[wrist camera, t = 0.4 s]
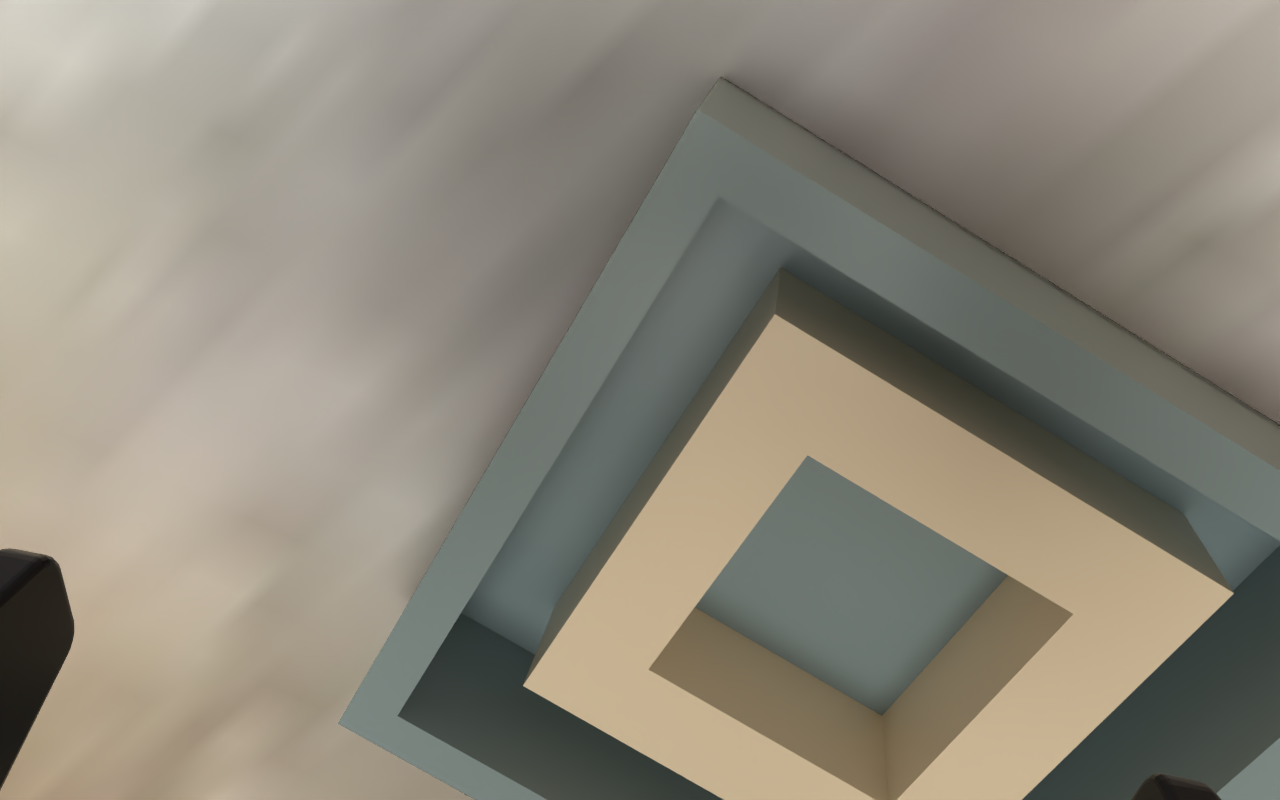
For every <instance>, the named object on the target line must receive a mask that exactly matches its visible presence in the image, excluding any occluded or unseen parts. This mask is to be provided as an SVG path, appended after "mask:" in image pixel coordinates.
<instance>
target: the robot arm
mask: <svg viewBox="0 0 1280 800" xmlns="http://www.w3.org/2000/svg"><path fill="white" fill-rule="evenodd" d="M73 636H74V620H73V616H72V612H71V608H70V604H69V600H68V596H67V592H66V588H65V584H64V581H63V577H62V573H61V569H60V566H59V564H58V563H57V562H56V561H55V560H54V559H53V558H52V557H50V556H47V555H43V554H38V553H33V552H28V551H23V550H18V549H2V550H0V790H1V788H2V786H3V784H4V782H5V780H6V778H7V776H8V774H9V772H10V770H11V768H12V766H13V764H14V762H15V760H16V758H17V755H18V753H19V751H20V749H21V747H22V745H23V743H24V741H25V739H26V737H27V735H28V733H29V731H30V729H31V727H32V725H33V723H34V721H35V719H36V717H37V715H38V713H39V711H40V709H41V707H42V705H43V703H44V701H45V699H46V697H47V695H48V693H49V691H50V689H51V687H52V685H53V683H54V681H55V679H56V677H57V675H58V673H59V671H60V669H61V667H62V665H63V663H64V661H65V659H66V657H67V655H68V653H69V650H70V648H71V644H72V641H73ZM1131 800H1222V799H1221V798H1220V797H1219V796H1218V795H1217V794H1216V793H1215V791H1214V790H1212V789H1211V788H1210V787H1209V786H1208V785H1206V784H1204V783H1203V782H1200V781H1197V780H1193V779H1188V778H1183V777H1178V776H1173V775H1168V774H1163V773H1155V774H1153V775H1151V776H1149V777H1147V778H1146V779H1145V780H1144V781H1143V782H1142V784H1141V785H1140V787H1139V788H1138V790H1137V791H1136V793H1135V794H1134V796H1133V797H1132V799H1131Z"/></svg>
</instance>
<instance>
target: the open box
mask: <svg viewBox="0 0 1280 800" xmlns="http://www.w3.org/2000/svg"><path fill="white" fill-rule="evenodd" d="M338 724H340V725H341V726H343V727H345V728H347V729H349V730H350V731H352V732H354V733H356V734H358V735H359V736H361V737H363V738H365V739H367V740H368V741H370V742H372V743H374V744H376V745H377V746H379V747H381V748H383V749H385V750H386V751H388V752H390V753H392V754H394V755H396V756H397V757H399V758H401V759H403V760H405V761H406V762H408V763H410V764H412V765H414V766H415V767H417V768H419V769H421V770H423V771H424V772H426V773H428V774H430V775H432V776H433V777H435V778H437V779H439V780H441V781H442V782H444V783H446V784H448V785H450V786H451V787H453V788H455V789H457V790H459V791H460V792H462V793H464V794H466V795H468V796H469V797H471V798H473V799H475V800H1131V799H1132V797H1133V796H1134V794H1135V793H1136V791H1137V790H1138V788H1139V787H1140V785H1141V784H1142V782H1143V781H1144V780H1145V779H1146V778H1147V777H1149V776H1151V775H1153V774H1155V773H1163V774H1168V775H1173V776H1178V777H1183V778H1188V779H1193V780H1197V781H1200V782H1203V783H1204V784H1206V785H1208V786H1209V787H1210V788H1211V789H1212V790H1214V791H1215V793H1216V794H1217V795H1218V796H1219V797H1220V798H1221V799H1222V800H1280V425H1279V424H1277V423H1275V422H1274V421H1272V420H1271V419H1269V418H1267V417H1266V416H1264V415H1263V414H1261V413H1259V412H1258V411H1256V410H1255V409H1253V408H1251V407H1250V406H1248V405H1247V404H1245V403H1243V402H1242V401H1240V400H1239V399H1237V398H1235V397H1234V396H1232V395H1231V394H1229V393H1227V392H1226V391H1224V390H1223V389H1221V388H1219V387H1218V386H1216V385H1215V384H1213V383H1211V382H1210V381H1208V380H1207V379H1205V378H1203V377H1202V376H1200V375H1199V374H1197V373H1195V372H1194V371H1192V370H1191V369H1189V368H1187V367H1186V366H1184V365H1183V364H1181V363H1179V362H1178V361H1176V360H1175V359H1173V358H1171V357H1170V356H1168V355H1167V354H1165V353H1163V352H1162V351H1160V350H1158V349H1157V348H1155V347H1154V346H1152V345H1150V344H1149V343H1147V342H1146V341H1144V340H1142V339H1141V338H1139V337H1138V336H1136V335H1134V334H1133V333H1131V332H1130V331H1128V330H1126V329H1125V328H1123V327H1122V326H1120V325H1118V324H1117V323H1115V322H1114V321H1112V320H1110V319H1109V318H1107V317H1106V316H1104V315H1102V314H1101V313H1099V312H1098V311H1096V310H1094V309H1093V308H1091V307H1090V306H1088V305H1086V304H1085V303H1083V302H1082V301H1080V300H1078V299H1077V298H1075V297H1074V296H1072V295H1070V294H1069V293H1067V292H1066V291H1064V290H1062V289H1061V288H1059V287H1058V286H1056V285H1054V284H1053V283H1051V282H1050V281H1048V280H1046V279H1045V278H1043V277H1042V276H1040V275H1038V274H1037V273H1035V272H1034V271H1032V270H1030V269H1029V268H1027V267H1026V266H1024V265H1022V264H1021V263H1019V262H1018V261H1016V260H1014V259H1013V258H1011V257H1009V256H1008V255H1006V254H1005V253H1003V252H1001V251H1000V250H998V249H997V248H995V247H993V246H992V245H990V244H989V243H987V242H985V241H984V240H982V239H981V238H979V237H977V236H976V235H974V234H973V233H971V232H969V231H968V230H966V229H965V228H963V227H961V226H960V225H958V224H957V223H955V222H953V221H952V220H950V219H949V218H947V217H945V216H944V215H942V214H941V213H939V212H937V211H936V210H934V209H933V208H931V207H929V206H928V205H926V204H925V203H923V202H921V201H920V200H918V199H917V198H915V197H913V196H912V195H910V194H909V193H907V192H905V191H904V190H902V189H901V188H899V187H897V186H896V185H894V184H893V183H891V182H889V181H888V180H886V179H885V178H883V177H881V176H880V175H878V174H877V173H875V172H873V171H872V170H870V169H868V168H867V167H865V166H864V165H862V164H860V163H859V162H857V161H856V160H854V159H852V158H851V157H849V156H848V155H846V154H844V153H843V152H841V151H840V150H838V149H836V148H835V147H833V146H832V145H830V144H828V143H827V142H825V141H824V140H822V139H820V138H819V137H817V136H816V135H814V134H812V133H811V132H809V131H808V130H806V129H804V128H803V127H801V126H800V125H798V124H796V123H795V122H793V121H792V120H790V119H788V118H787V117H785V116H784V115H782V114H780V113H779V112H777V111H776V110H774V109H772V108H771V107H769V106H768V105H766V104H764V103H763V102H761V101H760V100H758V99H756V98H755V97H753V96H752V95H750V94H748V93H747V92H745V91H744V90H742V89H740V88H739V87H737V86H736V85H734V84H732V83H731V82H729V81H727V80H726V79H724V78H723V77H720V79H719V80H718V81H717V83H716V84H715V86H714V87H713V88H712V90H711V91H710V92H709V94H708V95H707V97H706V98H705V99H704V101H703V102H702V104H701V105H700V106H699V108H698V109H697V111H696V112H695V114H694V116H693V118H692V119H691V121H690V123H689V124H688V126H687V128H686V129H685V131H684V133H683V135H682V136H681V138H680V140H679V141H678V143H677V145H676V147H675V148H674V150H673V152H672V153H671V155H670V157H669V159H668V160H667V162H666V164H665V165H664V167H663V169H662V171H661V172H660V174H659V176H658V177H657V179H656V181H655V182H654V184H653V186H652V188H651V189H650V191H649V193H648V194H647V196H646V198H645V200H644V201H643V203H642V205H641V206H640V208H639V210H638V212H637V213H636V215H635V217H634V218H633V220H632V222H631V224H630V225H629V227H628V229H627V230H626V232H625V234H624V235H623V237H622V239H621V241H620V242H619V244H618V246H617V247H616V249H615V251H614V253H613V254H612V256H611V258H610V259H609V261H608V263H607V265H606V266H605V268H604V270H603V271H602V273H601V275H600V276H599V278H598V280H597V282H596V283H595V285H594V287H593V288H592V290H591V292H590V294H589V295H588V297H587V299H586V300H585V302H584V304H583V306H582V307H581V309H580V311H579V312H578V314H577V316H576V318H575V319H574V321H573V323H572V324H571V326H570V328H569V329H568V331H567V333H566V335H565V336H564V338H563V340H562V341H561V343H560V345H559V347H558V348H557V350H556V352H555V353H554V355H553V357H552V359H551V360H550V362H549V364H548V365H547V367H546V369H545V371H544V372H543V374H542V376H541V377H540V379H539V381H538V382H537V384H536V386H535V388H534V389H533V391H532V393H531V394H530V396H529V398H528V400H527V401H526V403H525V405H524V406H523V408H522V410H521V412H520V413H519V415H518V417H517V418H516V420H515V422H514V424H513V425H512V427H511V429H510V430H509V432H508V434H507V435H506V437H505V439H504V441H503V442H502V444H501V446H500V447H499V449H498V451H497V453H496V454H495V456H494V458H493V459H492V461H491V463H490V465H489V466H488V468H487V470H486V471H485V473H484V475H483V476H482V478H481V480H480V482H479V483H478V485H477V487H476V488H475V490H474V492H473V494H472V495H471V497H470V499H469V500H468V502H467V504H466V506H465V507H464V509H463V511H462V512H461V514H460V516H459V518H458V519H457V521H456V523H455V524H454V526H453V528H452V529H451V531H450V533H449V535H448V536H447V538H446V540H445V541H444V543H443V545H442V547H441V548H440V550H439V552H438V553H437V555H436V557H435V559H434V560H433V562H432V564H431V565H430V567H429V569H428V571H427V572H426V574H425V576H424V577H423V579H422V581H421V582H420V584H419V586H418V588H417V589H416V591H415V593H414V594H413V596H412V598H411V600H410V601H409V603H408V605H407V606H406V608H405V610H404V612H403V613H402V615H401V617H400V618H399V620H398V622H397V624H396V625H395V627H394V629H393V630H392V632H391V634H390V635H389V637H388V639H387V641H386V642H385V644H384V646H383V647H382V649H381V651H380V653H379V654H378V656H377V658H376V659H375V661H374V663H373V665H372V666H371V668H370V670H369V671H368V673H367V675H366V677H365V678H364V680H363V682H362V683H361V685H360V687H359V688H358V690H357V692H356V694H355V695H354V697H353V699H352V700H351V702H350V704H349V706H348V707H347V709H346V711H345V712H344V714H343V716H342V718H341V719H340V721H339V723H338Z"/></svg>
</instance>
